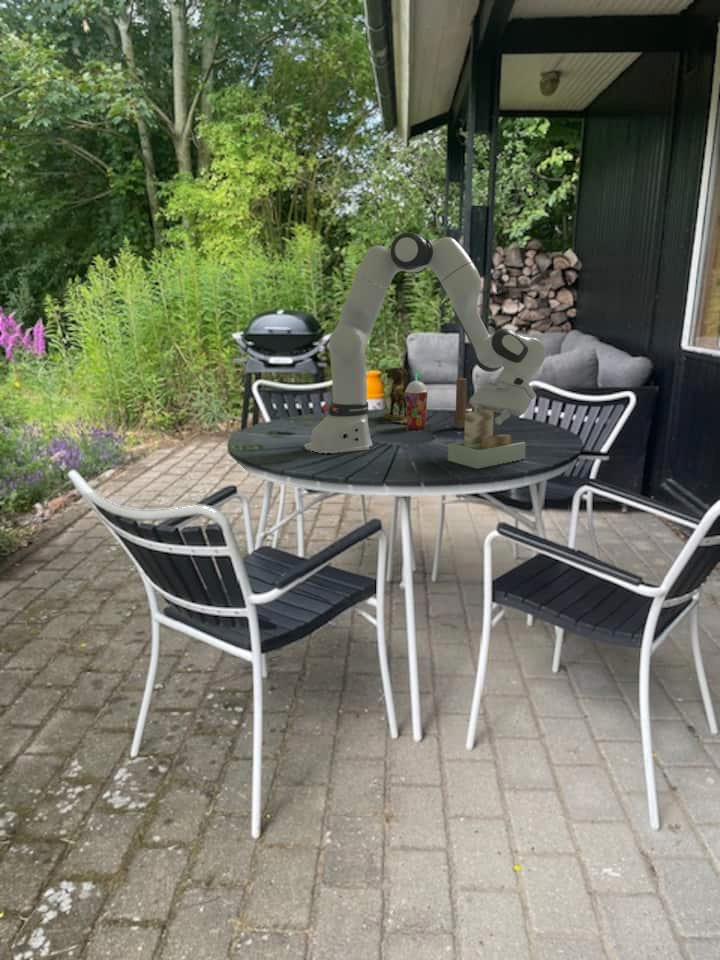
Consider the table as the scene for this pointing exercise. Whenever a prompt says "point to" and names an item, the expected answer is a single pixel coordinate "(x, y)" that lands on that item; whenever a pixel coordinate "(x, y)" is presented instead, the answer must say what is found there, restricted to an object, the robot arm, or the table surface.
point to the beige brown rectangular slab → (478, 426)
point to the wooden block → (461, 403)
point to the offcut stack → (496, 441)
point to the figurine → (397, 395)
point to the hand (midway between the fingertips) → (485, 421)
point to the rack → (485, 454)
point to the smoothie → (416, 404)
